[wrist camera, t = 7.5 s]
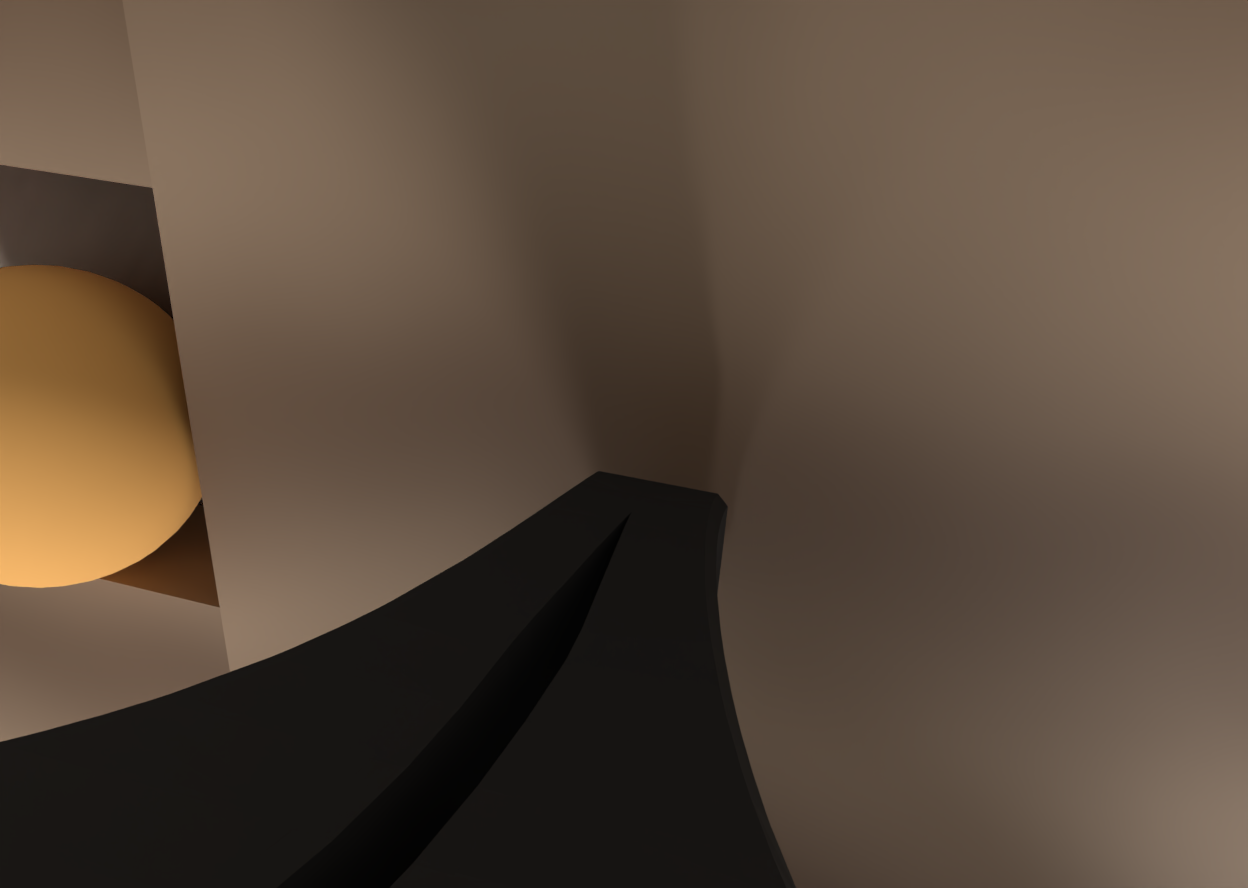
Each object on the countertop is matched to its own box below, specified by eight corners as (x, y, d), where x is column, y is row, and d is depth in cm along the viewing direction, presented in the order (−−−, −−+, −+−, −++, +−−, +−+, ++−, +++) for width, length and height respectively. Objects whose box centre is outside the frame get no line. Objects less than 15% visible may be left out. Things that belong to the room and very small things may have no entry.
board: (1488, 1044, 14) (1558, 1204, 13) (-111, 622, 20) (-212, 694, 18) (2407, -157, 7) (2833, -162, 6) (-439, -302, 13) (-650, -324, 11)
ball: (301, 512, 15) (69, 705, 13) (100, 419, 17) (-151, 576, 14) (263, 266, 13) (-36, 438, 10) (31, 179, 14) (-292, 310, 11)
